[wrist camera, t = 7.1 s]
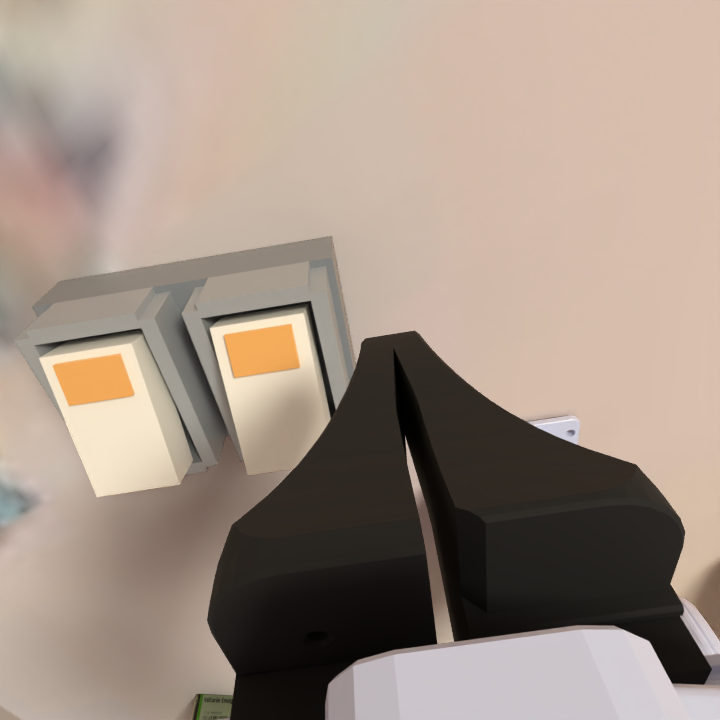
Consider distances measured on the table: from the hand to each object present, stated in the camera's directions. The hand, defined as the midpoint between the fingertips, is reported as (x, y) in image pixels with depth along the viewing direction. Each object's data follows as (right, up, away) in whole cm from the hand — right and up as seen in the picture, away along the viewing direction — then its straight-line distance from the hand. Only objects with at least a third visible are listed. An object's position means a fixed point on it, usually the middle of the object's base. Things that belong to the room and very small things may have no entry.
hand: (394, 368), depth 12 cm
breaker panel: (-7, +1, +11) cm, 13 cm away
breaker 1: (-10, -2, +7) cm, 13 cm away
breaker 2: (-4, -1, +7) cm, 8 cm away
